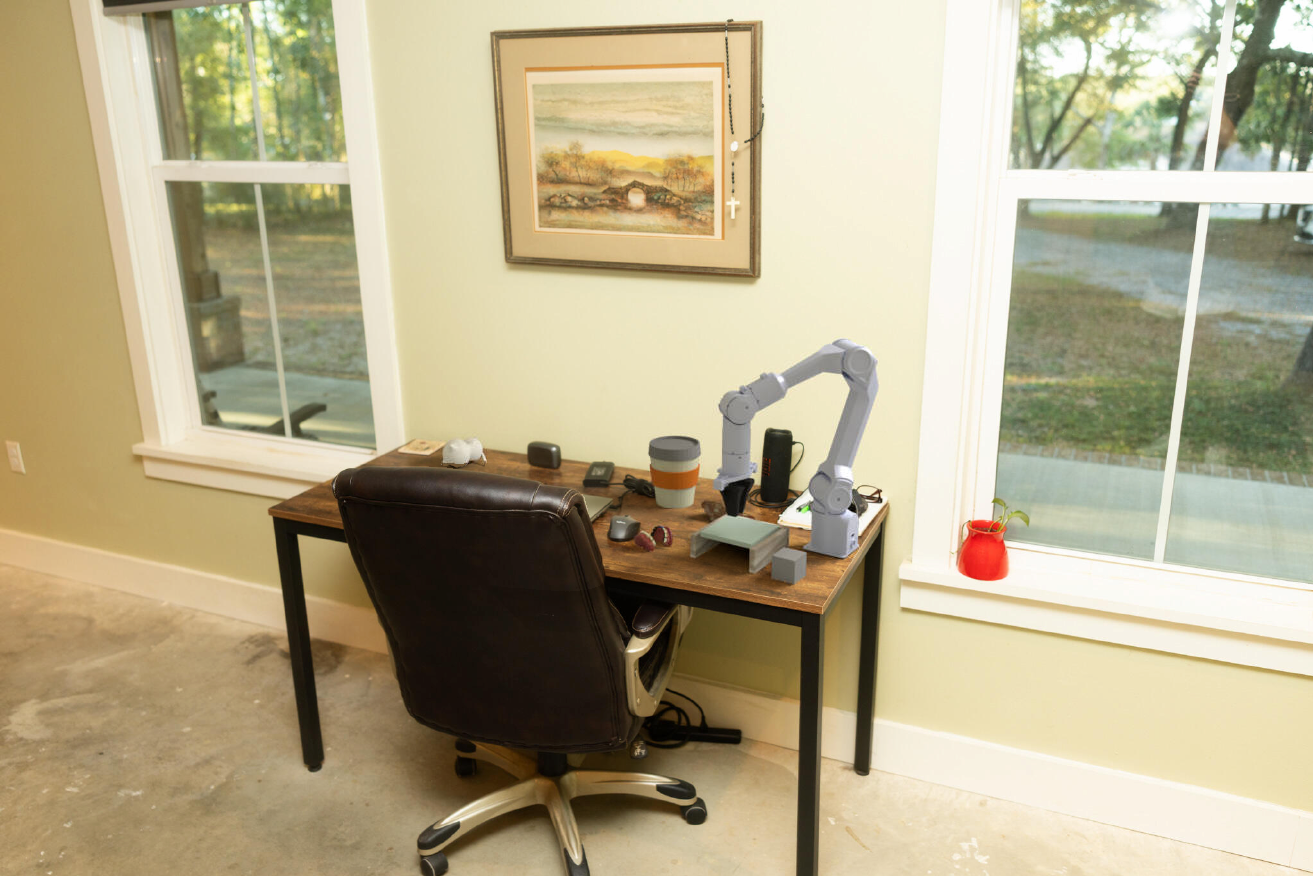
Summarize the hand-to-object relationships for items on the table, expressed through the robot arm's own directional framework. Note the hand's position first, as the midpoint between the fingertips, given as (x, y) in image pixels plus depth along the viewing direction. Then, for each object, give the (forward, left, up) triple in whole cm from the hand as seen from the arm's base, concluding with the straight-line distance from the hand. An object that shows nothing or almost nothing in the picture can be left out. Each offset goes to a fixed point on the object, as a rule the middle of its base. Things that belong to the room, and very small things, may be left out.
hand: (735, 514), depth 197 cm
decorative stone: (+11, -17, -10) cm, 22 cm away
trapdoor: (0, -2, -5) cm, 5 cm away
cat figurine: (+93, -14, -10) cm, 94 cm away
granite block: (-14, +3, -10) cm, 17 cm away
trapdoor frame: (0, -2, -9) cm, 10 cm away
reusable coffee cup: (+29, -21, -10) cm, 37 cm away
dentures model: (+18, +4, -10) cm, 21 cm away
